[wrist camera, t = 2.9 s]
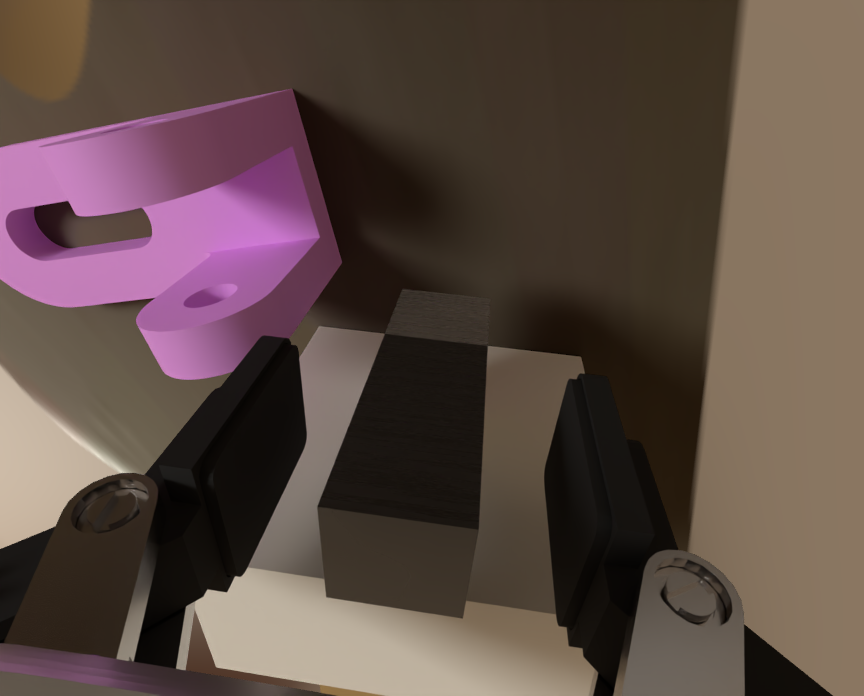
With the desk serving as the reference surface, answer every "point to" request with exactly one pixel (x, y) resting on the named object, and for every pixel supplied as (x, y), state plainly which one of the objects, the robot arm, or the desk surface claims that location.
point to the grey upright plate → (412, 463)
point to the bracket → (180, 226)
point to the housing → (397, 628)
